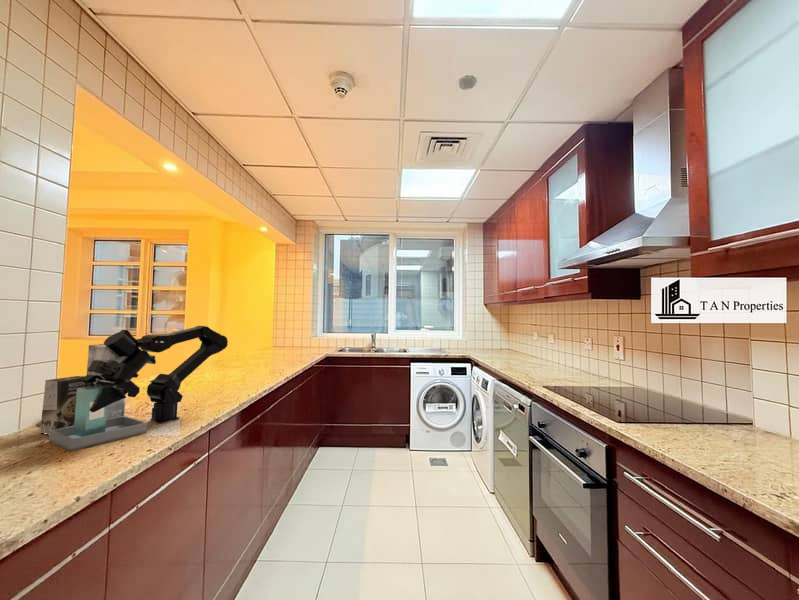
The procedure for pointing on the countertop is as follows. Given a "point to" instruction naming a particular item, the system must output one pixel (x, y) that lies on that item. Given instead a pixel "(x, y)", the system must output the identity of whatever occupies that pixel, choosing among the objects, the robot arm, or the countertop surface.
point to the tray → (113, 431)
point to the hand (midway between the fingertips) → (85, 410)
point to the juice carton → (105, 355)
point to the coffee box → (60, 403)
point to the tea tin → (89, 412)
